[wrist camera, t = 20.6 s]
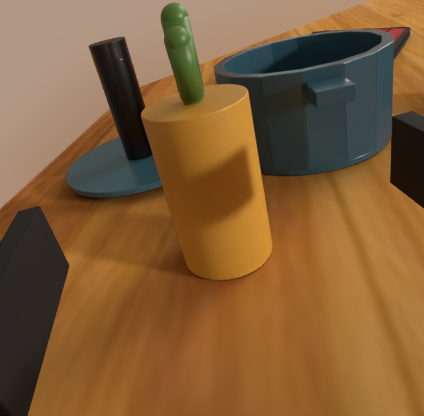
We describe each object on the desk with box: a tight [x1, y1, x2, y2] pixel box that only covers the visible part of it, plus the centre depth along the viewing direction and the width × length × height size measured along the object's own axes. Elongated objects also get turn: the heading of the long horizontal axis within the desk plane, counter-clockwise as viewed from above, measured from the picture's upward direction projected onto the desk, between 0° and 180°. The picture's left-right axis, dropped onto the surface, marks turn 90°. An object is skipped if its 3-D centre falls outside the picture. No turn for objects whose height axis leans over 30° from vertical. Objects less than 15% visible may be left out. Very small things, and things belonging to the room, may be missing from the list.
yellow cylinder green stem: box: [141, 3, 272, 280], centre depth 20 cm, size 5×5×13 cm
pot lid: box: [66, 37, 162, 198], centre depth 35 cm, size 15×15×11 cm
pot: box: [214, 29, 394, 175], centre depth 33 cm, size 14×19×8 cm
